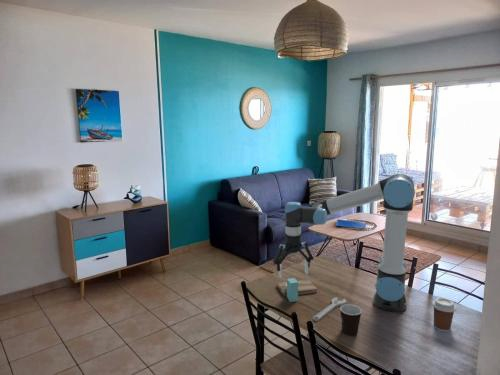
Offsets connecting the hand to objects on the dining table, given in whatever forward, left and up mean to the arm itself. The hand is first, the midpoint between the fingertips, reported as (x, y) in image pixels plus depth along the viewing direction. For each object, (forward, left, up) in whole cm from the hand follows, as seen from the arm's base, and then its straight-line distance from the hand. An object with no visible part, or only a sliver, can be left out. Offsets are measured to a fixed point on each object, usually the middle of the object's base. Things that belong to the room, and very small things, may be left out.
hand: (293, 275), depth 180 cm
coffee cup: (-39, -54, -13) cm, 68 cm away
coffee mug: (-31, -15, -13) cm, 37 cm away
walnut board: (+10, -6, -13) cm, 17 cm away
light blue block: (+3, 0, -13) cm, 13 cm away
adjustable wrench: (-13, -13, -14) cm, 23 cm away
